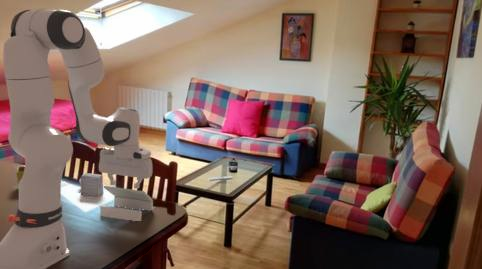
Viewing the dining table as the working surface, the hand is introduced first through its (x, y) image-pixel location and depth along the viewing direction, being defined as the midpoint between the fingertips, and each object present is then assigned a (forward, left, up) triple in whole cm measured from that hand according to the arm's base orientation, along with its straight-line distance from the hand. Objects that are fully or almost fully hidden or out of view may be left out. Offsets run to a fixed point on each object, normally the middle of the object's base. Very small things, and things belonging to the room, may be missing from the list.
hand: (124, 186), depth 147 cm
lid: (+4, 0, -5) cm, 6 cm away
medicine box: (+17, +23, -12) cm, 31 cm away
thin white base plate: (+3, 0, -12) cm, 12 cm away
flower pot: (+13, +50, -12) cm, 53 cm away
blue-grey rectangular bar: (+2, 0, -12) cm, 12 cm away
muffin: (+23, +29, -12) cm, 39 cm away
